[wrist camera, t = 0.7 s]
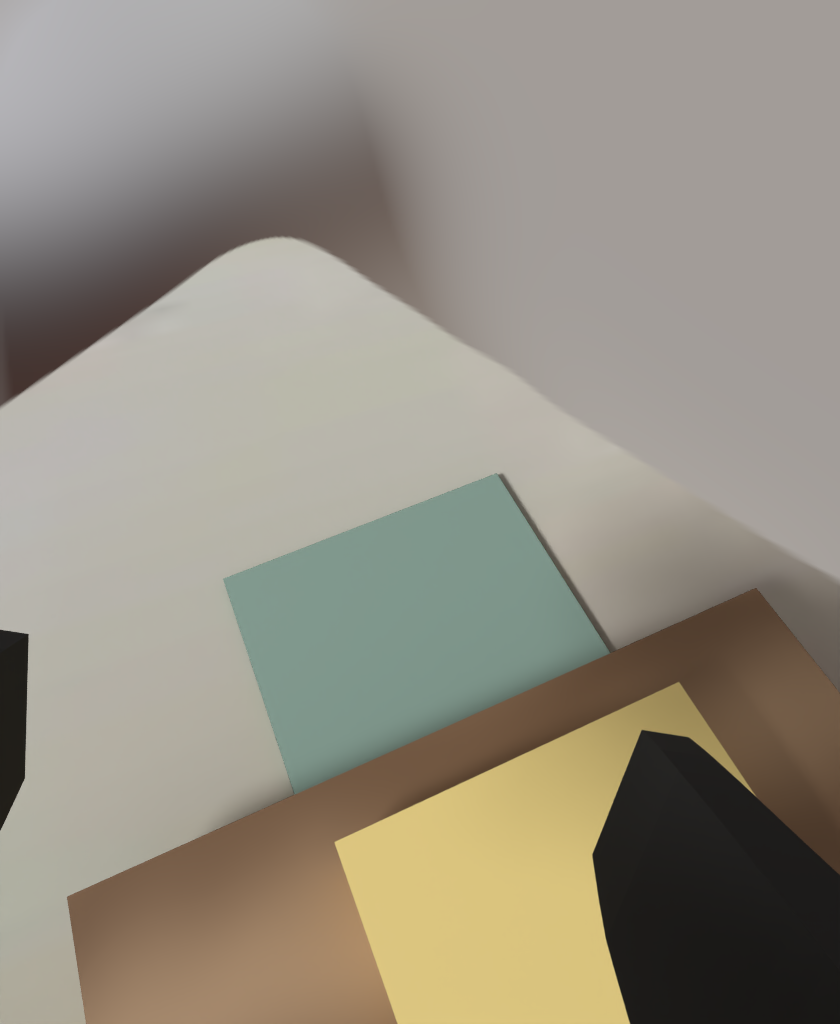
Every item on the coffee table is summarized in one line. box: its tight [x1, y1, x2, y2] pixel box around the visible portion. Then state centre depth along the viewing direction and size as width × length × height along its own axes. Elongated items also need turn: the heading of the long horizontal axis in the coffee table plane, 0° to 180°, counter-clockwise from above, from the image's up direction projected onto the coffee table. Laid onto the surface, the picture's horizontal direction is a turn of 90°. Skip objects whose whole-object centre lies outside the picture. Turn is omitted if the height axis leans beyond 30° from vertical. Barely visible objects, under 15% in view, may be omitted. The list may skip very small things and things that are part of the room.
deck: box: [67, 588, 840, 1024], centre depth 19 cm, size 14×20×4 cm
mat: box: [223, 473, 610, 794], centre depth 27 cm, size 9×11×1 cm
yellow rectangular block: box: [334, 682, 755, 1024], centre depth 17 cm, size 6×9×2 cm, turn 114°
